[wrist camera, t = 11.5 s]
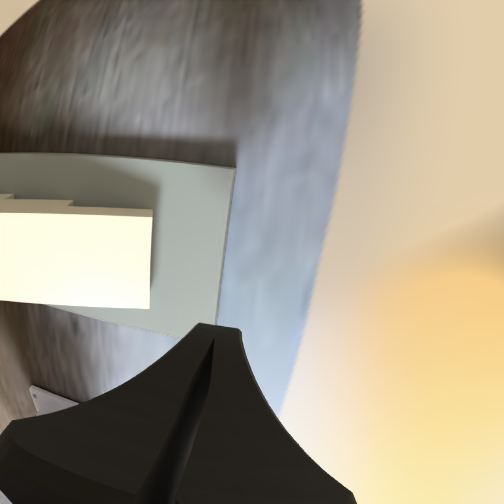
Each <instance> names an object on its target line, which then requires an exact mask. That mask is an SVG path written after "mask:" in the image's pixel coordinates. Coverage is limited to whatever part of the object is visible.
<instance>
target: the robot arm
mask: <svg viewBox="0 0 504 504" xmlns="http://www.w3.org/2000/svg"><path fill="white" fill-rule="evenodd" d="M29 390H30V393H31V396H32V398H33V401H34V404H35V406H36V409H37V411H38V412H37V414H36V415H35V416H34V417H29V418H24V419H18V420H12V421H11V422H10V424H9V425H8V426H7V427H6V428H5V430H4V431H3V432H2V433H1V435H0V504H357V502H356V500H355V497H354V495H353V493H352V492H351V491H350V490H348V489H347V488H346V487H344V486H343V485H342V484H340V483H339V482H338V481H337V480H335V479H334V478H333V477H331V476H330V475H329V474H327V473H326V472H325V471H324V470H323V469H322V468H321V467H320V466H319V465H318V464H317V463H316V462H315V461H314V460H312V459H311V457H309V456H308V455H307V454H306V452H304V450H303V449H302V448H301V447H300V446H299V444H298V443H297V442H296V441H295V440H294V439H293V437H292V436H291V435H290V434H289V433H288V432H287V430H286V429H285V428H284V427H283V425H282V424H281V422H280V421H279V419H278V418H277V417H276V415H275V413H274V412H273V410H272V409H271V407H270V406H269V404H268V402H267V401H266V399H265V397H264V395H263V393H262V391H261V389H260V387H259V385H258V383H257V381H256V379H255V377H254V375H253V372H252V370H251V367H250V365H249V362H248V359H247V356H246V353H245V349H244V346H243V341H242V332H241V331H240V330H239V329H237V328H231V327H224V326H218V325H212V324H206V323H200V322H199V323H198V324H196V325H195V326H194V327H193V328H192V329H191V330H190V331H189V332H188V333H187V334H186V335H185V336H184V337H183V338H182V339H181V340H180V341H179V342H178V343H177V344H176V345H175V346H174V347H173V348H171V349H170V350H169V351H168V352H167V353H166V354H165V355H163V356H162V357H161V358H160V359H158V360H157V361H156V362H154V363H153V364H152V365H150V366H149V367H148V368H146V369H145V370H144V371H142V372H141V373H139V374H138V375H136V376H135V377H133V378H132V379H130V380H128V381H127V382H125V383H123V384H122V385H120V386H118V387H116V388H114V389H112V390H110V391H108V392H106V393H104V394H102V395H100V396H97V397H95V398H93V399H91V400H88V401H86V402H83V403H80V404H79V403H76V402H74V401H71V400H68V399H66V398H63V397H61V396H58V395H55V394H53V393H50V392H48V391H46V390H43V389H41V388H38V387H36V386H34V385H31V386H30V388H29Z"/></svg>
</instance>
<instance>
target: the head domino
mask: <svg viewBox="0 0 504 504" xmlns="http://www.w3.org/2000/svg"><path fill="white" fill-rule="evenodd" d="M152 216H153V209H132V208H108V207H79V206H33V205H1V206H0V300H4V301H15V302H27V303H40V304H54V305H70V306H88V307H110V308H140V309H149V302H150V256H151V234H152Z"/></svg>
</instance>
